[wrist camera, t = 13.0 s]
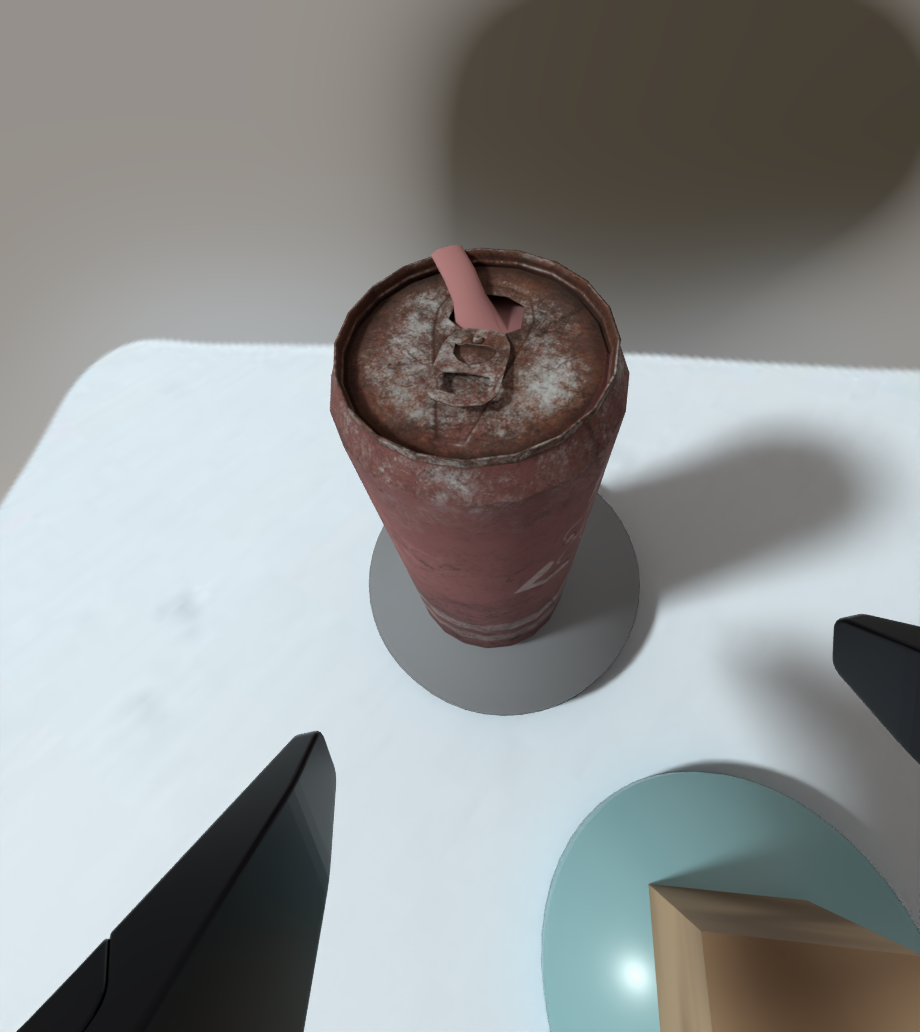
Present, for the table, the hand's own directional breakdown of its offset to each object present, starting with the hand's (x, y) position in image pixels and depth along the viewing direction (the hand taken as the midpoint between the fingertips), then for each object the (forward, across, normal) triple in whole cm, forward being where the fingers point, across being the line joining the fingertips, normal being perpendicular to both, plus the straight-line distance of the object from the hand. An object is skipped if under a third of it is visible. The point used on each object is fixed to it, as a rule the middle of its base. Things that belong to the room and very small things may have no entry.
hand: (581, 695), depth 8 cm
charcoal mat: (+14, 0, +4) cm, 15 cm away
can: (+13, +1, +4) cm, 14 cm away
